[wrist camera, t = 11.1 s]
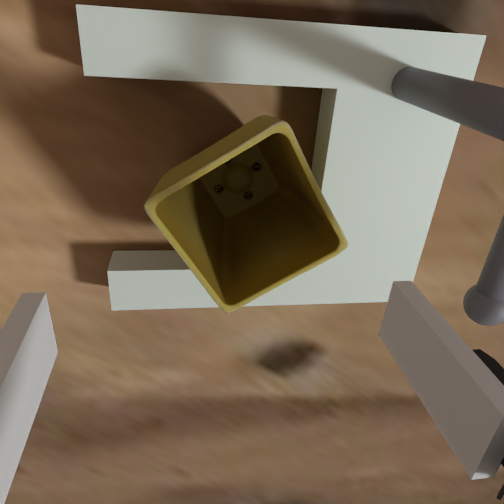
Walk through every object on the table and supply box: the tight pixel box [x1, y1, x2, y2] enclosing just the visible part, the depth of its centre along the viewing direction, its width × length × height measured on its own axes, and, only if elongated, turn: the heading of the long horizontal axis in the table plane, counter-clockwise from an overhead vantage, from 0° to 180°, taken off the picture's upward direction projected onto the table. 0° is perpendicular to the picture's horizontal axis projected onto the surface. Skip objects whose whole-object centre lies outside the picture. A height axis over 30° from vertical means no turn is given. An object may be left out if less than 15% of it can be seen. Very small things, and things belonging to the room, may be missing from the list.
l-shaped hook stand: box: [76, 4, 504, 326], centre depth 24 cm, size 24×20×17 cm
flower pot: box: [144, 115, 348, 313], centre depth 27 cm, size 9×9×9 cm
